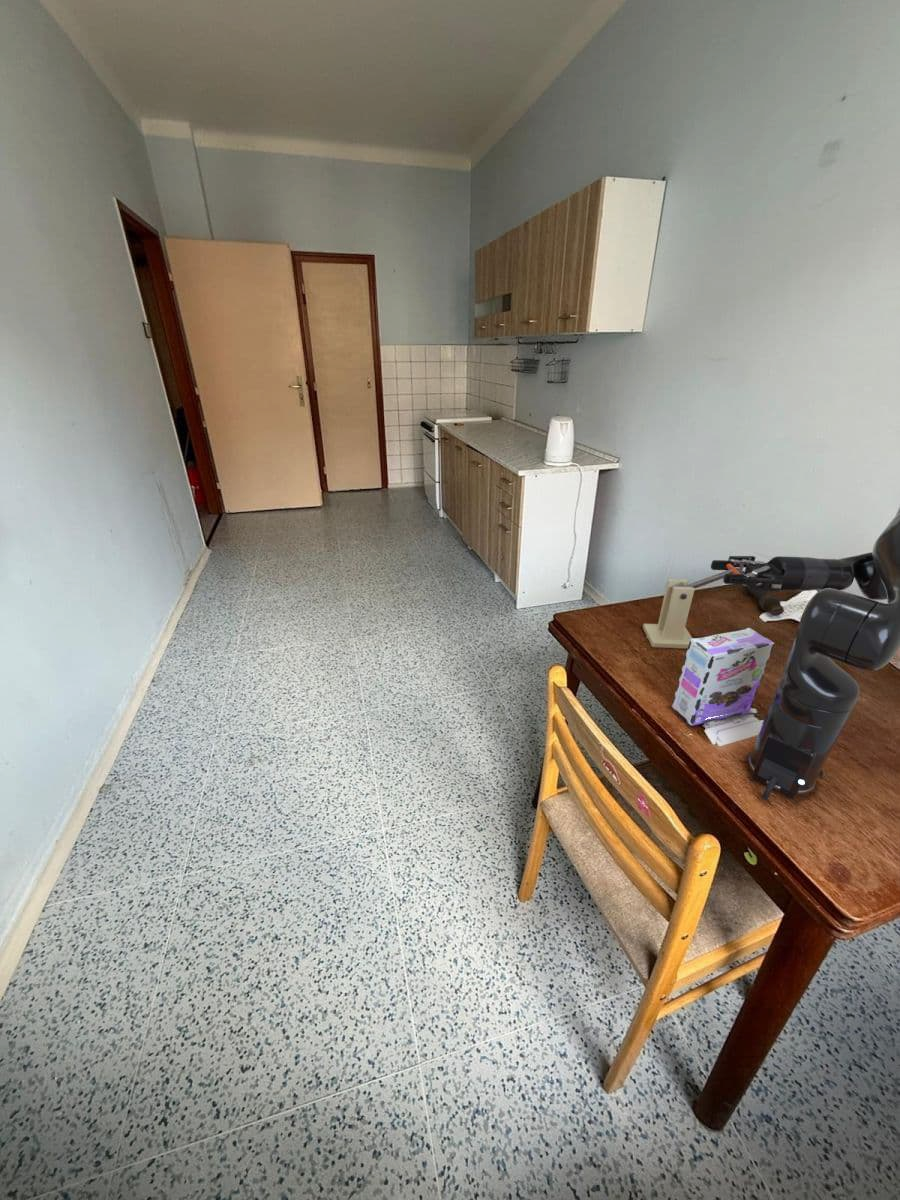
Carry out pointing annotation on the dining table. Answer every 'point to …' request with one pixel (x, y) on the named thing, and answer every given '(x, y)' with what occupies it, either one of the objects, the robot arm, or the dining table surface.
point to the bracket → (672, 618)
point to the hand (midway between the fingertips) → (718, 571)
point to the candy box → (721, 675)
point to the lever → (710, 578)
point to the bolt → (766, 600)
